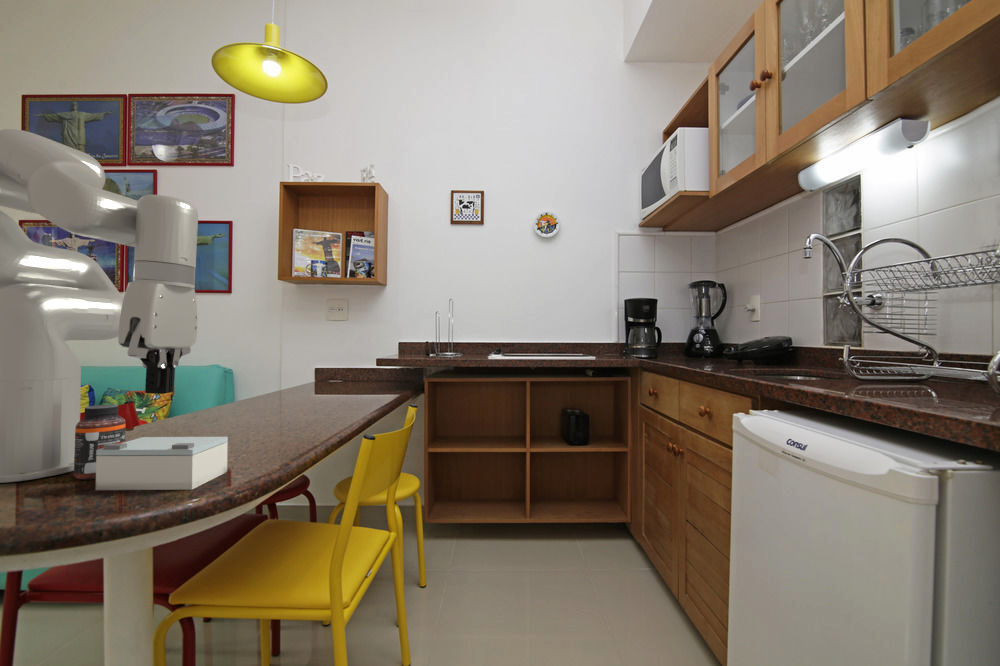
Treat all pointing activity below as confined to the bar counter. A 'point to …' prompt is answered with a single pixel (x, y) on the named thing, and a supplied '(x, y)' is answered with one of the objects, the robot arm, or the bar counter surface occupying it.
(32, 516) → the bar counter surface
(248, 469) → the bar counter surface
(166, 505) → the bar counter surface
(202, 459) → the white hinged box
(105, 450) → the cover
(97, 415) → the supplement bottle
